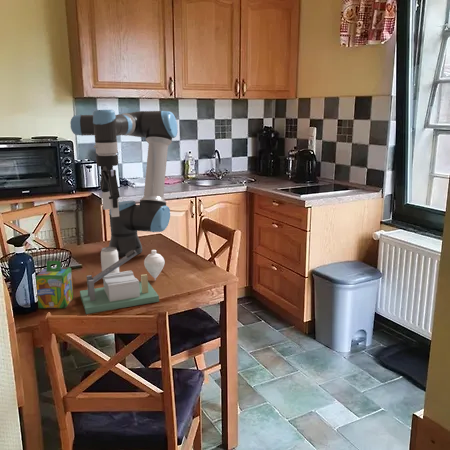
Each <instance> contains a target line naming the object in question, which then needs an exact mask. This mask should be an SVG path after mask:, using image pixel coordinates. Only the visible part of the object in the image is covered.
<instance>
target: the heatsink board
mask: <svg viewBox="0 0 450 450" xmlns="http://www.w3.org/2000/svg"><path fill="white" fill-rule="evenodd" d="M91 278H93V277H92V275H91V274H89V275H86V284H87V289H85V290H84V289H83V290H79V296H80V300H81V303H82V305H83V308H84V309H83V310H84V312H85V314H86V315H89V314H94V313H101V312H106V311H113V310H117V309H123V308H129V307H134V306H140V305H146V304H152V303H153V304H154V303H157V302H160V296H159V294H158V293H157V291H156V290H155V289H154V288H153V286H152V284H150V282H149V279H148V278H149V277H148V274H147V273H146V274H140V281H139V278H136V277H135V275H134V271H132V270H126V271H125V270H124V271H119V272H117V273H110V274H107V275H106V276H104V277H103V278H102V280H103V287H97V288H95V283H94V280H89V279H91Z"/></svg>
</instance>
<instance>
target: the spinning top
mask: <svg viewBox="0 0 450 450" xmlns="http://www.w3.org/2000/svg"><path fill="white" fill-rule="evenodd" d="M143 265H144V268H145V270H146V271H147V273H148V274H150V276H151V277H152V278H153V279H154V281H156V280H157V278H158V276H160V274H161V272H162V271H163V268H164V267H165V258H164V256H162V255H161V254H160V253H157V250H156V249H151V252H150V253H149V254H148V255H147V256H146V257H145V258H144V261H143Z"/></svg>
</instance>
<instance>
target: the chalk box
mask: <svg viewBox="0 0 450 450" xmlns="http://www.w3.org/2000/svg"><path fill="white" fill-rule="evenodd" d="M52 265H56V266H52ZM72 274H73V273H72V268H71V267H69V266H62V262H61V260H47V261H46V267H43V269H42V270H40V271H39V272H38V273H37V275H35V283H36V295H37V296H36V297H37V306H38V307H37V308H38V309H66V308H67V307H68V305H69V304H70V303H71V301H72V300H73V299H74V287H73V277H72Z"/></svg>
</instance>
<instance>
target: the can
mask: <svg viewBox="0 0 450 450" xmlns="http://www.w3.org/2000/svg"><path fill="white" fill-rule="evenodd" d="M119 260H120V259H119V257H118V251H117V248H116V247H109V246H106V247H102V248H101V251H100V262H101V263H100V266H101V272H102V271H104V270H105V269H107V268H108V267H110V266H111V265H113V264H114V263H116V262H117V261H119ZM117 272H120V266H119V267H118V268H116V269H115V270H113V271H112V272H110V273H117ZM110 273H109V274H110Z"/></svg>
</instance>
